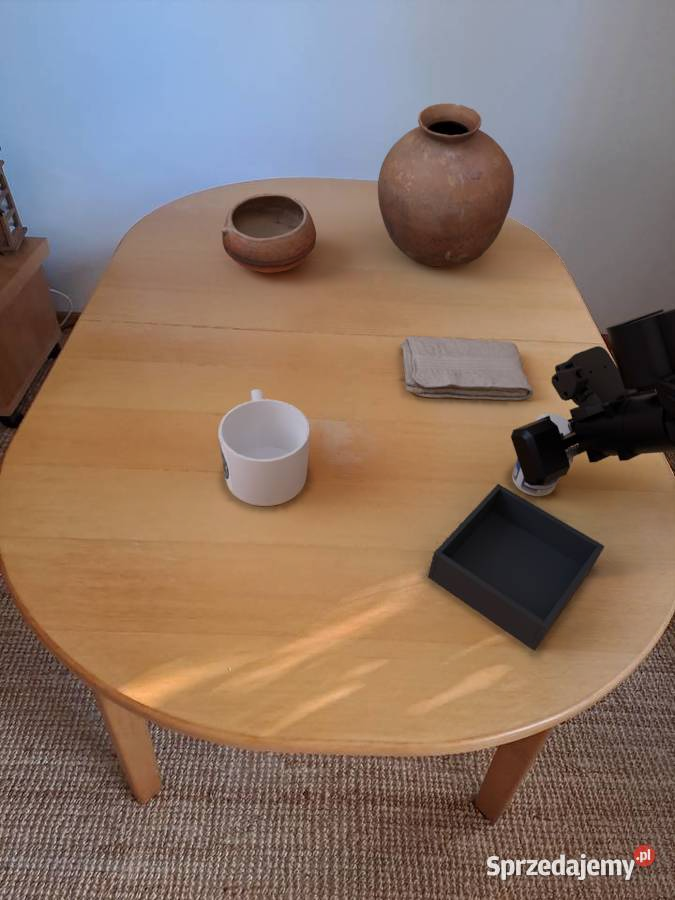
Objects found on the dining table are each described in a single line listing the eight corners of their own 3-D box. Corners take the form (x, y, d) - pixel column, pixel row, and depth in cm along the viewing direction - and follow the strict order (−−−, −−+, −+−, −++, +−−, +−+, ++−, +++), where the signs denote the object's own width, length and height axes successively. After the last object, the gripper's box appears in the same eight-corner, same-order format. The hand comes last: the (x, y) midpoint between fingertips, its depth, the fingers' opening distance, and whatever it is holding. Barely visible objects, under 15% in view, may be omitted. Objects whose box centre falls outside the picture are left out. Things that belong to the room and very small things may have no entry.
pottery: (475, 223, 132) (504, 85, 114) (512, 287, 116) (552, 138, 98) (361, 225, 129) (373, 84, 112) (383, 290, 113) (401, 138, 96)
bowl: (208, 272, 115) (203, 217, 108) (251, 233, 125) (249, 180, 118) (291, 295, 111) (291, 239, 104) (328, 253, 121) (331, 199, 114)
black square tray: (591, 570, 75) (604, 545, 72) (534, 651, 67) (547, 628, 64) (489, 508, 81) (498, 483, 77) (427, 577, 73) (433, 552, 70)
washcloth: (398, 348, 102) (400, 331, 100) (514, 351, 103) (519, 335, 101) (404, 399, 94) (407, 382, 92) (531, 403, 95) (536, 386, 92)
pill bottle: (564, 488, 83) (588, 430, 76) (531, 504, 81) (553, 446, 74) (534, 460, 86) (554, 403, 80) (502, 475, 84) (520, 417, 77)
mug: (316, 503, 80) (318, 455, 74) (227, 515, 78) (222, 467, 72) (297, 426, 89) (297, 379, 83) (217, 435, 87) (211, 387, 81)
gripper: (684, 321, 68) (576, 351, 83) (548, 372, 61) (455, 395, 76) (715, 424, 69) (602, 436, 84) (584, 486, 62) (485, 488, 77)
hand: (539, 436), depth 80 cm, fingers closed on pill bottle, 5 cm apart
